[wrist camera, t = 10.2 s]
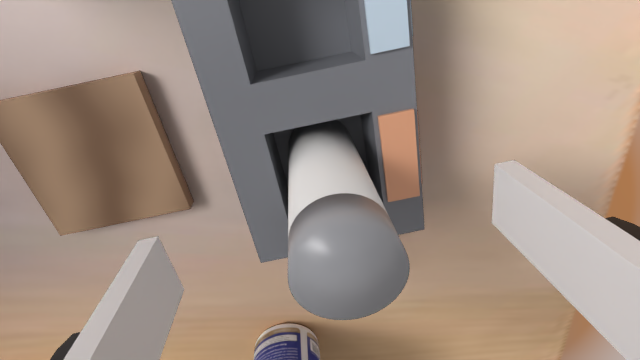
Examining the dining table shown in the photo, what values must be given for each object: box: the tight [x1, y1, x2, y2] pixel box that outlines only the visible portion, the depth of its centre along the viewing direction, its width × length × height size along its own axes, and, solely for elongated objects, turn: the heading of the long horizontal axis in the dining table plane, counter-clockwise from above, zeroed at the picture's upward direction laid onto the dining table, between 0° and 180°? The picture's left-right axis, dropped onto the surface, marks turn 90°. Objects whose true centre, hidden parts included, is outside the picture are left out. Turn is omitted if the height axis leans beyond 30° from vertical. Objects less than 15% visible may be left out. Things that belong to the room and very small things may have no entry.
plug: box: [288, 120, 409, 320], centre depth 17 cm, size 4×4×12 cm
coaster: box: [0, 71, 194, 236], centre depth 22 cm, size 9×9×1 cm
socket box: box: [171, 0, 424, 263], centre depth 19 cm, size 10×18×5 cm, turn 11°
